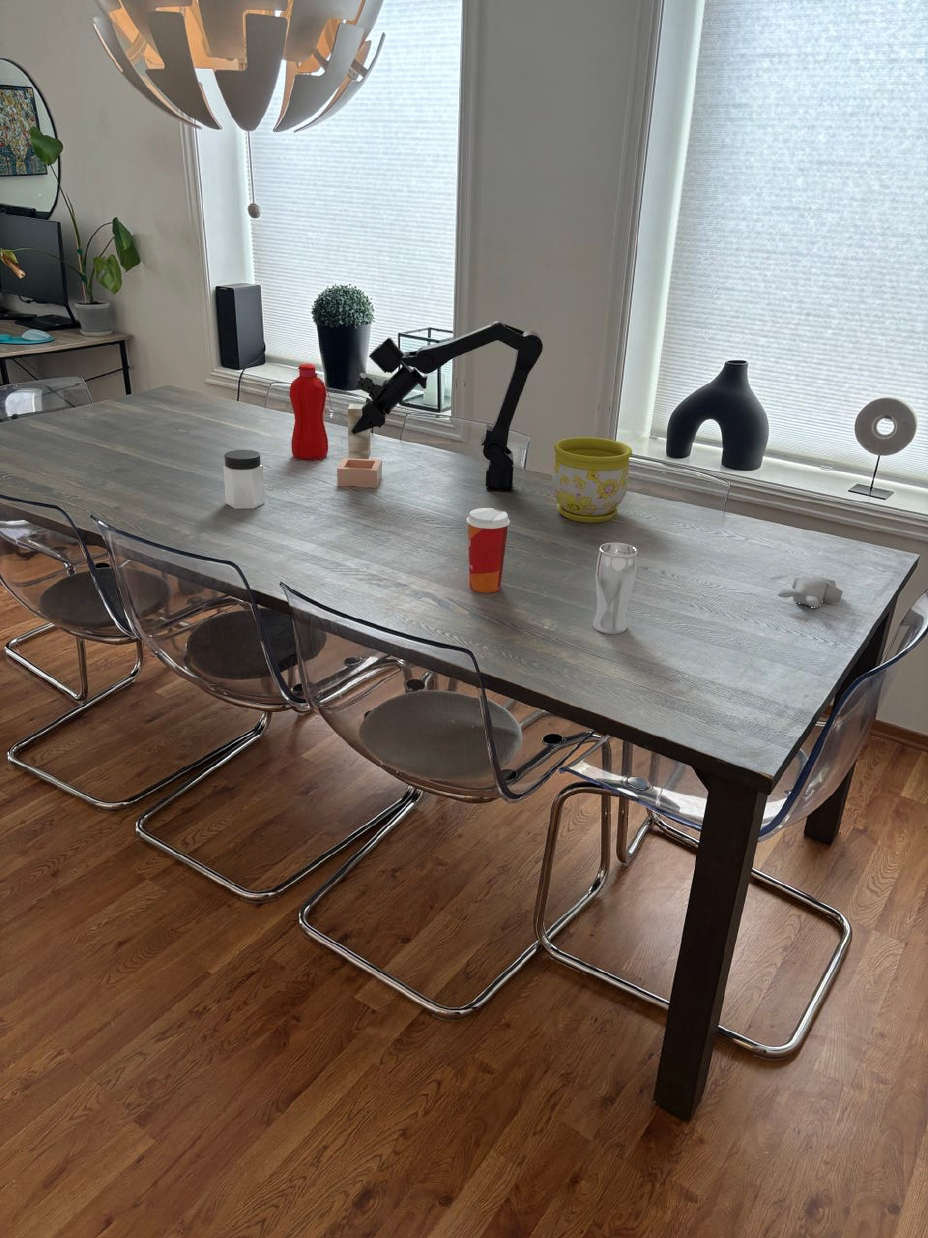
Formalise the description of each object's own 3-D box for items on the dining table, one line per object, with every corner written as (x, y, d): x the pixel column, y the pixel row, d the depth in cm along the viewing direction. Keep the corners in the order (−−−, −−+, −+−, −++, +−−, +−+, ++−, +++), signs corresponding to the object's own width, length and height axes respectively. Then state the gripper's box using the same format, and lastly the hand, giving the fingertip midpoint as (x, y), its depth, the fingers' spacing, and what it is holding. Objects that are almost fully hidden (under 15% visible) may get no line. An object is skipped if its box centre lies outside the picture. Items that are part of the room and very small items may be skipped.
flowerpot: (568, 497, 238) (574, 432, 231) (635, 511, 230) (643, 445, 223) (535, 516, 224) (540, 448, 217) (606, 532, 216) (614, 462, 209)
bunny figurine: (852, 580, 185) (824, 594, 174) (845, 605, 187) (818, 620, 175) (805, 567, 190) (775, 579, 179) (799, 591, 192) (769, 604, 181)
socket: (381, 476, 248) (381, 459, 246) (376, 487, 239) (376, 470, 237) (343, 474, 249) (343, 457, 247) (337, 485, 240) (337, 468, 238)
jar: (224, 509, 220) (220, 459, 215) (227, 498, 228) (224, 449, 223) (263, 509, 222) (260, 459, 217) (265, 498, 229) (262, 449, 224)
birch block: (370, 453, 242) (370, 404, 237) (368, 459, 238) (367, 409, 232) (351, 452, 242) (350, 403, 237) (348, 458, 238) (347, 408, 232)
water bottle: (327, 462, 258) (325, 369, 247) (288, 459, 259) (284, 366, 248) (337, 453, 266) (335, 362, 255) (299, 450, 267) (295, 360, 256)
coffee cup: (481, 575, 190) (484, 503, 184) (514, 586, 186) (519, 513, 179) (454, 587, 184) (457, 514, 178) (488, 599, 180) (491, 524, 173)
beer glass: (625, 618, 174) (634, 542, 168) (632, 635, 168) (642, 556, 162) (587, 618, 174) (595, 541, 167) (593, 635, 168) (601, 556, 161)
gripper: (378, 355, 238) (335, 398, 243) (370, 369, 221) (324, 415, 226) (409, 388, 242) (366, 429, 246) (404, 404, 225) (358, 448, 230)
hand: (353, 429), depth 237 cm, fingers closed on birch block, 5 cm apart
